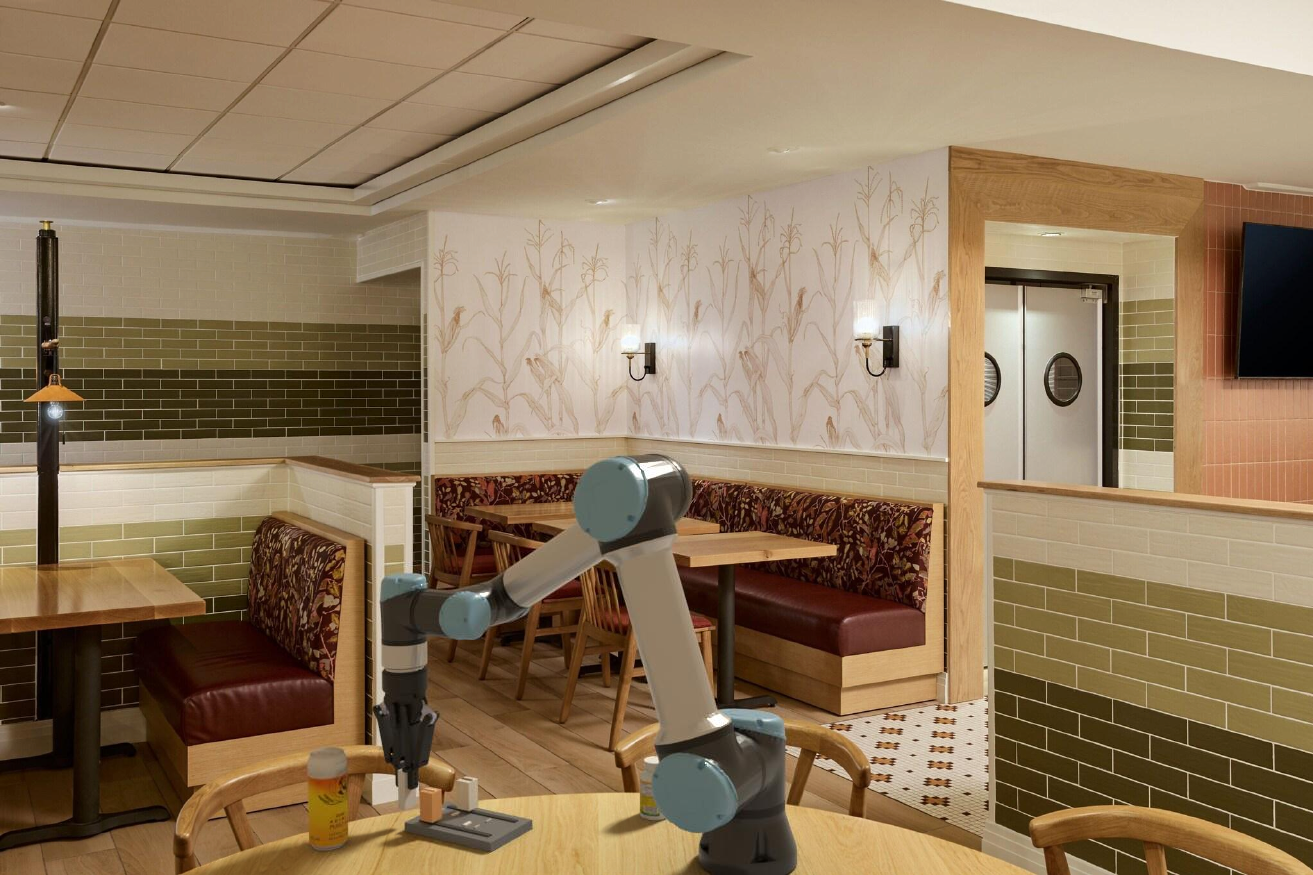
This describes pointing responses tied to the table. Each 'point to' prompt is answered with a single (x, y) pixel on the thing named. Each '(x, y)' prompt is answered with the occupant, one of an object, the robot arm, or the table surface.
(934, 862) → the table surface
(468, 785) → the cream fader
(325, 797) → the beer can
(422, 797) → the orange fader
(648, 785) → the supplement bottle
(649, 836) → the table surface
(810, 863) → the table surface
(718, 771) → the robot arm
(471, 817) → the console
